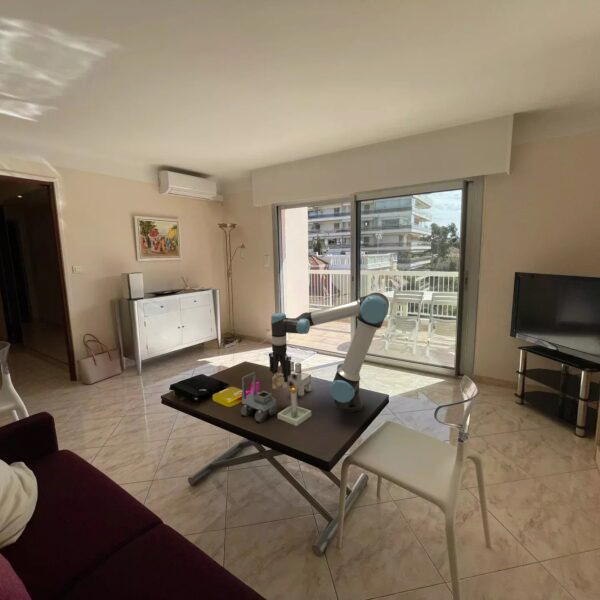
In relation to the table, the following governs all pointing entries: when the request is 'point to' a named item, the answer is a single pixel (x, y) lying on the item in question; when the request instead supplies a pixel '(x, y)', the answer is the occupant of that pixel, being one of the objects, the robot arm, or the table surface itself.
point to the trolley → (257, 401)
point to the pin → (294, 401)
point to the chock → (278, 382)
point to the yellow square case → (228, 397)
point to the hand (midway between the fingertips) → (280, 386)
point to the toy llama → (299, 379)
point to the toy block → (252, 389)
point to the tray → (286, 417)
